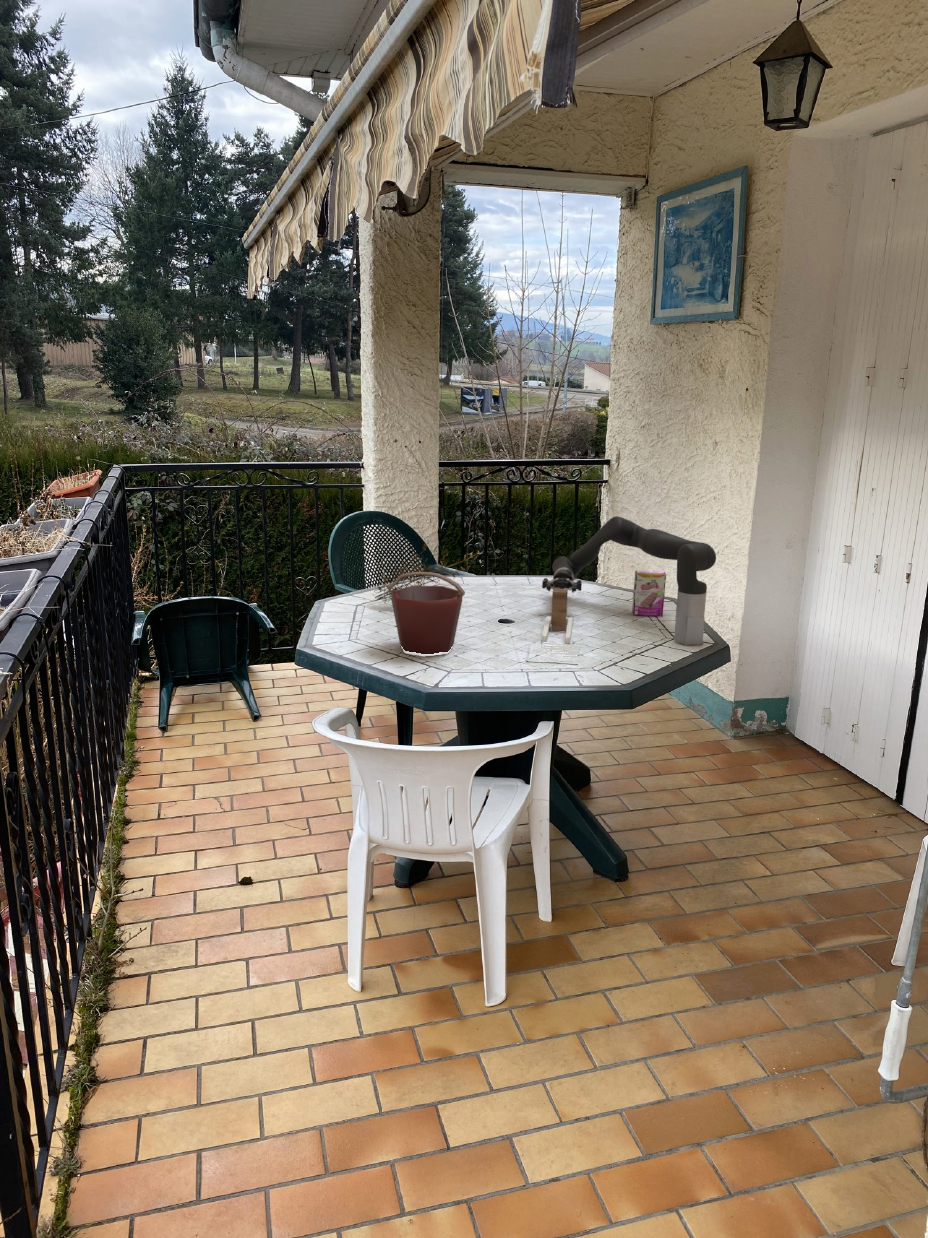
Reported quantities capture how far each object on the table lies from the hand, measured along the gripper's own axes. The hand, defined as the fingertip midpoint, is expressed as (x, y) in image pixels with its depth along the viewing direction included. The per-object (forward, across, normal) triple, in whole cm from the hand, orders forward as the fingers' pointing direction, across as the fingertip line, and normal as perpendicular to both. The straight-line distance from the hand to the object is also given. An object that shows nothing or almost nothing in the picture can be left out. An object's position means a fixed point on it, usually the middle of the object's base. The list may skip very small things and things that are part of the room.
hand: (561, 589), depth 321 cm
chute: (+18, 0, +12) cm, 21 cm away
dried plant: (-6, -50, +13) cm, 52 cm away
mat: (+41, 0, +11) cm, 42 cm away
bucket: (+43, -40, +12) cm, 60 cm away
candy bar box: (-15, +32, +12) cm, 37 cm away
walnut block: (+12, 0, +12) cm, 16 cm away
